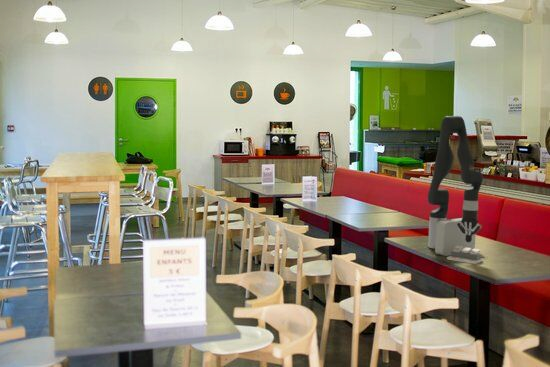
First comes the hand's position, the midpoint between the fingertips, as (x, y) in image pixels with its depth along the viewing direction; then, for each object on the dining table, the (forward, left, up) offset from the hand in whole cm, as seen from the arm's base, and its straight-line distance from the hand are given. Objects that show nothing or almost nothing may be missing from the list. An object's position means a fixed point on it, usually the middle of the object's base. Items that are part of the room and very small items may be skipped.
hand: (468, 242), depth 347 cm
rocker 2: (+2, 0, -4) cm, 4 cm away
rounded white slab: (-12, -12, -9) cm, 19 cm away
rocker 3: (+2, +4, -4) cm, 6 cm away
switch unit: (+3, 0, -9) cm, 10 cm away
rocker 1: (+2, -5, -4) cm, 6 cm away
